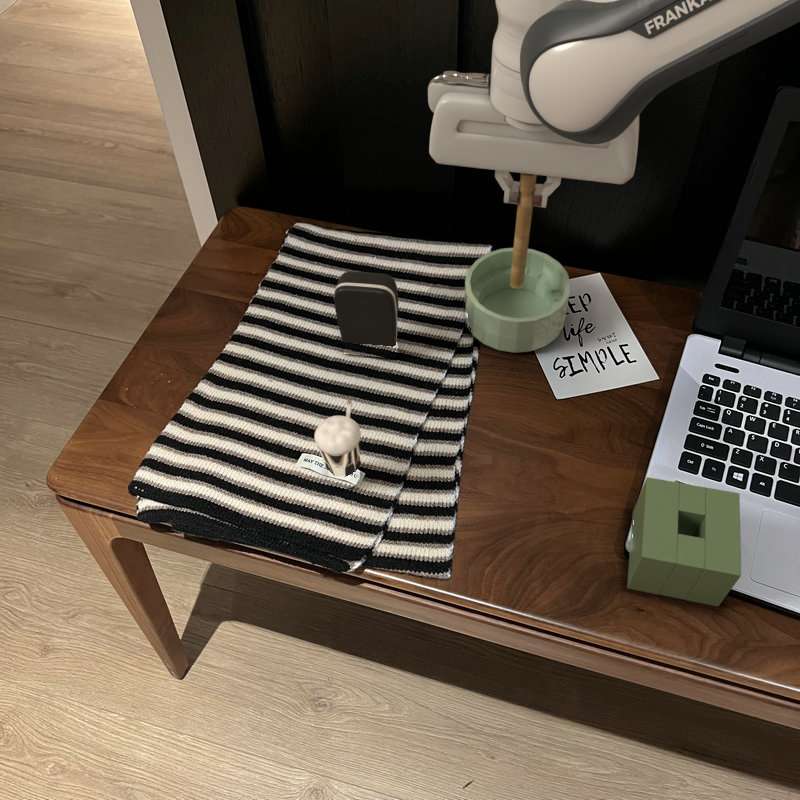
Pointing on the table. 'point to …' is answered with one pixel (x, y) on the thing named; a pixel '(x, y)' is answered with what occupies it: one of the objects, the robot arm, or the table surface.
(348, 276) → the battery charger
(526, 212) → the stick
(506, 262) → the bowl
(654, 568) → the holder
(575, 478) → the table surface
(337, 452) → the milkshake
